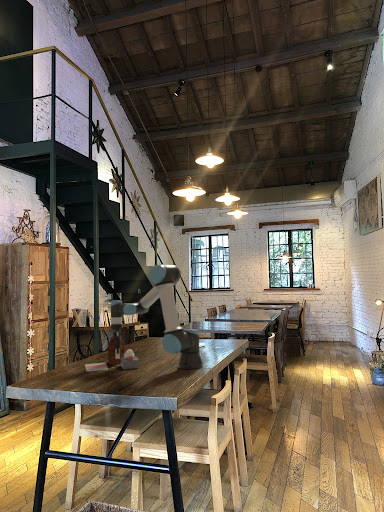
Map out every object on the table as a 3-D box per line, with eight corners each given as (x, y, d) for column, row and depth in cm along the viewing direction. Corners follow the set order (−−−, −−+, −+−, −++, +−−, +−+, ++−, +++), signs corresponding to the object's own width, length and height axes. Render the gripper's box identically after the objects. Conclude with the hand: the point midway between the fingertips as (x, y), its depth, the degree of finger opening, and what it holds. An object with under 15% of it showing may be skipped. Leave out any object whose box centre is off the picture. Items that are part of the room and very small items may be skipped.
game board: (108, 369, 233) (108, 368, 233) (86, 371, 229) (86, 371, 229) (105, 362, 254) (105, 362, 254) (85, 364, 250) (85, 364, 250)
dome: (135, 358, 239) (135, 349, 239) (124, 359, 237) (124, 350, 237) (133, 356, 245) (133, 348, 245) (123, 357, 243) (123, 349, 243)
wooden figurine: (114, 364, 247) (113, 337, 248) (107, 364, 250) (106, 336, 251) (126, 361, 256) (126, 334, 258) (119, 360, 260) (119, 334, 261)
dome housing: (139, 367, 235) (139, 355, 236) (123, 369, 232) (123, 357, 232) (136, 364, 246) (135, 352, 247) (120, 365, 243) (120, 354, 244)
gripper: (109, 322, 264) (109, 355, 263) (112, 325, 244) (112, 360, 243) (119, 321, 267) (120, 354, 265) (124, 324, 247) (124, 359, 245)
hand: (116, 357), depth 254 cm, fingers closed on wooden figurine, 9 cm apart
